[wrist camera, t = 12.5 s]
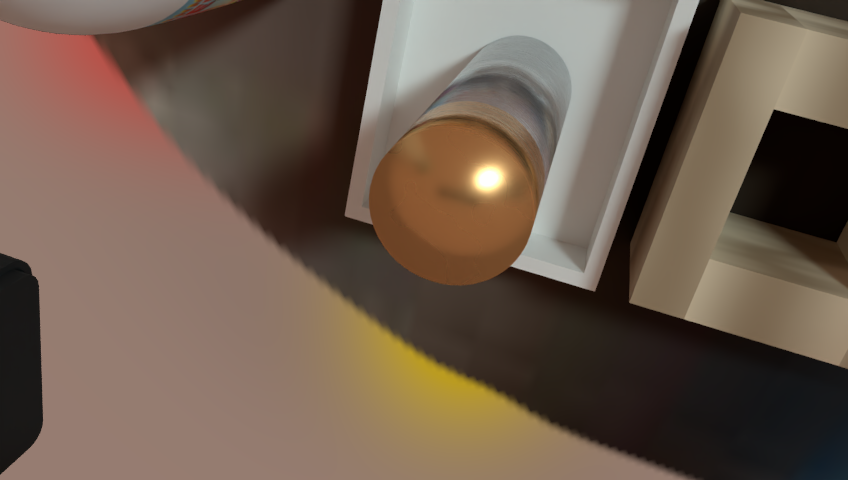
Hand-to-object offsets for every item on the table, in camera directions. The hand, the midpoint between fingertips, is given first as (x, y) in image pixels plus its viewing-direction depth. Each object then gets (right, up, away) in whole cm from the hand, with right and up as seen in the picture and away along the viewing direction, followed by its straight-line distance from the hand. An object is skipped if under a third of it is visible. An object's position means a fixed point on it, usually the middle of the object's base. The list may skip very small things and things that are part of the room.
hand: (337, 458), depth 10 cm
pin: (+5, +9, +19) cm, 21 cm away
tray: (+5, +9, +20) cm, 22 cm away
